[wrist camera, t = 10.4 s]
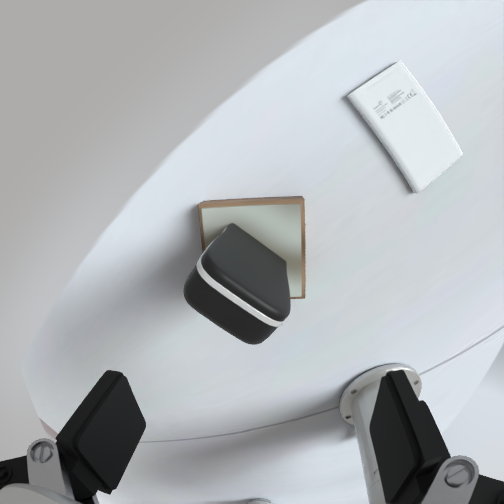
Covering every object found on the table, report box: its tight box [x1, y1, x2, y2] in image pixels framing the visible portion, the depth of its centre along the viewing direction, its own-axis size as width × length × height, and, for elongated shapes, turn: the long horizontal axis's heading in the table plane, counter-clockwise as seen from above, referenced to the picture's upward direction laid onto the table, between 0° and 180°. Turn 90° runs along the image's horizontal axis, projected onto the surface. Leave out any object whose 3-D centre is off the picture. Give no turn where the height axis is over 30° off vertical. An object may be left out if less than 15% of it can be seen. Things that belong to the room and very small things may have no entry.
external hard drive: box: [347, 60, 463, 193], centre depth 25 cm, size 2×8×12 cm
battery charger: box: [184, 223, 290, 345], centre depth 23 cm, size 7×4×11 cm, turn 54°
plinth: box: [198, 196, 305, 299], centre depth 30 cm, size 10×10×3 cm
